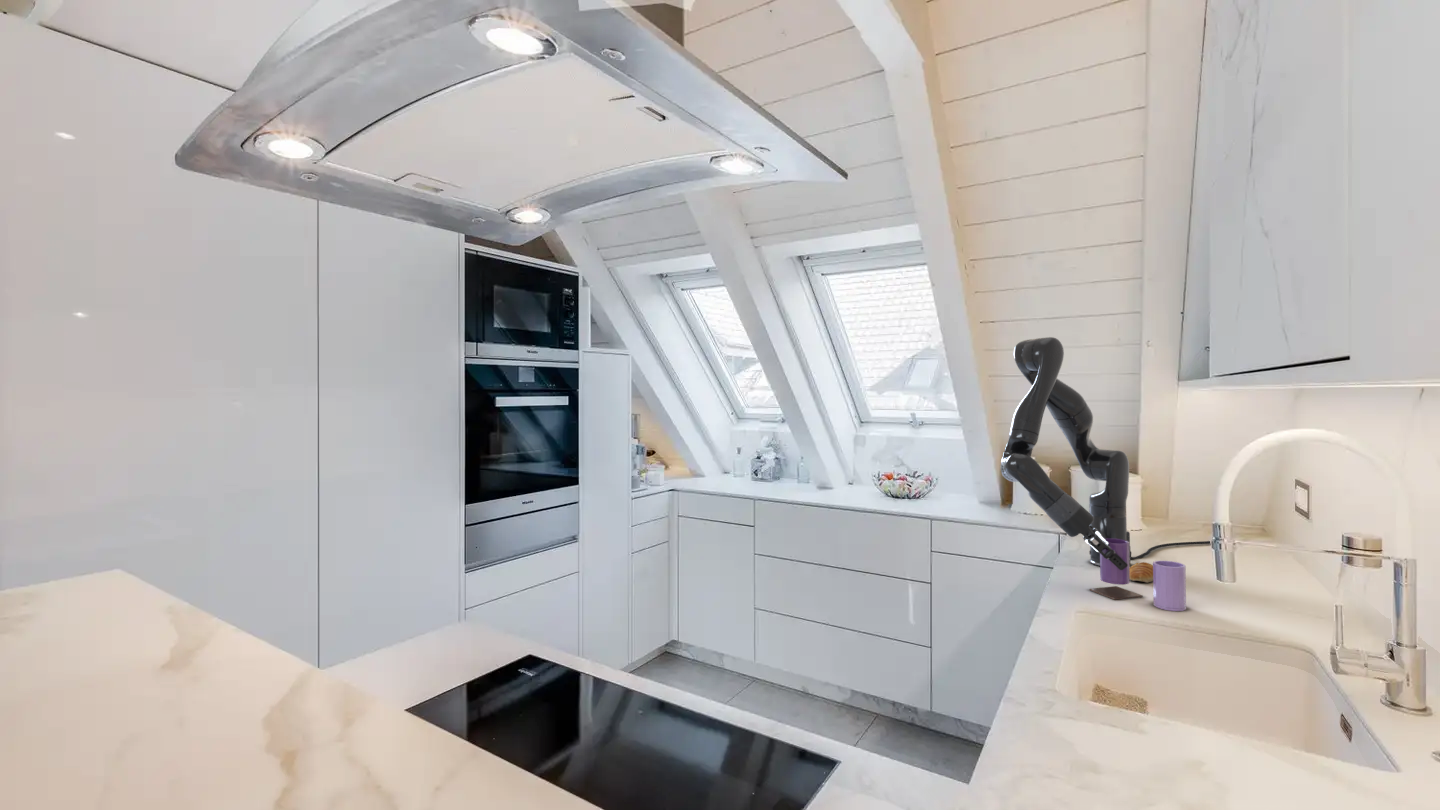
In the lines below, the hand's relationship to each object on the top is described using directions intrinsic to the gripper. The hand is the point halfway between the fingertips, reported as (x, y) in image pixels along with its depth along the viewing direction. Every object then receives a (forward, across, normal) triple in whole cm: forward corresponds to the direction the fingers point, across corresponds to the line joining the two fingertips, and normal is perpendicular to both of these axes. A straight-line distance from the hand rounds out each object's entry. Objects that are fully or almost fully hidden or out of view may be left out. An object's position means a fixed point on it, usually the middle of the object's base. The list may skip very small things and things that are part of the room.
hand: (1122, 564), depth 161 cm
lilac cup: (+11, -7, -1) cm, 13 cm away
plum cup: (+2, 0, +4) cm, 5 cm away
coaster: (+4, 0, +6) cm, 8 cm away
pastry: (+10, +17, +1) cm, 20 cm away
